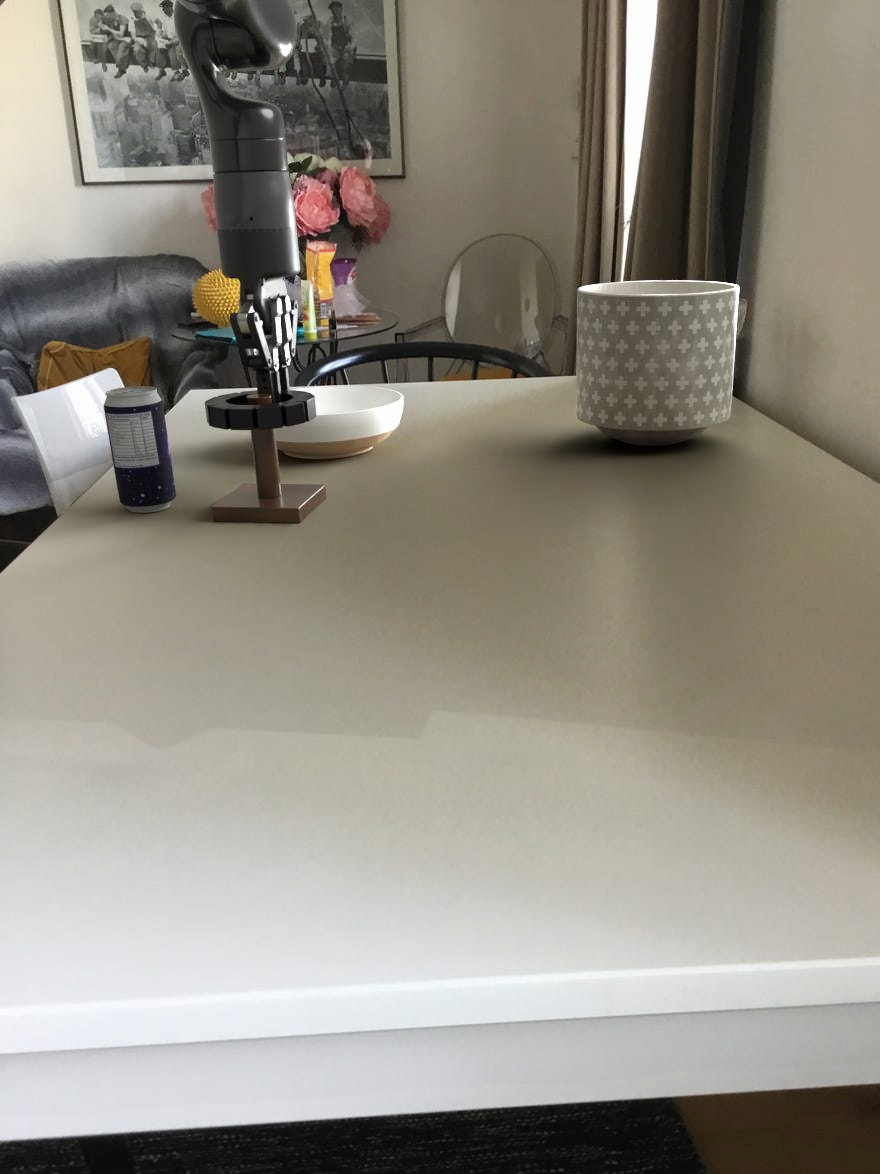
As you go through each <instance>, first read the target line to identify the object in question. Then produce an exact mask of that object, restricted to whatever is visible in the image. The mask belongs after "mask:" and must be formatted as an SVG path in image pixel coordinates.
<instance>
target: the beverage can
mask: <svg viewBox="0 0 880 1174" xmlns="http://www.w3.org/2000/svg"><path fill="white" fill-rule="evenodd" d="M105 396H106V397H105V400H104V403H103V412H104V417H105V424H106V429H107V435H108V440H109V448H110V453H111V458H112V464H113V471H114V477H115V482H116V488H117V495H118V500H119V503H120V504H121V505H122V506H124V507H125V508H127V509H128V511H130V512H132V513H140V514H142V513H143V514H144V513H145V514H146V513H147V514H148V513H154V512H159V511H163V510H166V509H168V508H170V507H171V504H172V502H173V501H174V500H175V499H176V498H177V491H176V484H175V476H174V470H173V469H174V468H173V464H172V457H171V450H170V443H169V442H170V441H169V436H168V429H167V428H168V427H167V423H166V416H165V408H164V402H163V399H162V398H161V397H160V394H158V390H157V388H156V387H155V386H147V385H146V386H145V385H137V386H124V387H117V388H112V389H108V390H107V391H105Z"/></svg>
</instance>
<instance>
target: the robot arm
mask: <svg viewBox="0 0 880 1174" xmlns="http://www.w3.org/2000/svg"><path fill="white" fill-rule="evenodd" d="M5 2H6V0H0V7H1V6H2V5H3V4H4V3H5ZM173 25H174V30H175V35H176V38H177V41H178V44H179V46H180V50H181V52H182V55H183V57H184V60H185V63H186V65H187V67H188V69H189V71H190V75H191V77H192V80H193V82H194V85H195V86H194V87H195V89H196V91H197V95H198V98H199V101H200V104H201V108H202V111H203V115H204V118H205V124H206V129H207V134H208V141H209V142H208V143H209V151H210V161H211V168H212V173H213V174H212V177H213V192H212V193H213V208H214V218H215V226H216V234H217V241H218V250H219V259H220V260H219V261H220V267H221V273H222V275H223V276H224V277H225V278H227V279H233V280H234V279H237V280H238V281H239V297H238V311H239V312H230V314H229V323H230V326H231V329H232V332H233V335H234V338H235V341H236V344H237V347H238V351H239V354H240V357H241V359H242V363H243V365H244V367H245V368H247V369H251V371H252V372H254V373H255V382H256V390H257V391H258V394H271V395H272V404H274V403H279V402H282V399H281V390H291V387H290V377H289V376H290V375H289V368H288V367H290V365H291V360H292V359H291V358H294V357H295V356H296V348H297V347H296V344H297V332H298V317H299V316H298V315H299V303H298V301H297V299H290V296H289V294H288V289H287V286H286V281H285V278H287V277H294V276H296V275H298V274H299V273H300V272H301V259H300V249H299V239H298V227H297V218H296V208H295V198H294V193H293V188H292V183H291V179H290V172H289V159H288V149H287V147H288V146H287V138H286V128H285V127H286V126H285V119H284V116H283V115H284V114H283V113H282V110H281V109H280V108H279V107H278V105H276V104H274V103H272V102H270V101H265V100H260V99H255V98H251V97H250V98H249V97H244V96H241V95H239V94H236V92H234V91H233V89H232V88H231V87H230V85H229V83H228V80H227V78H226V77H227V76H226V73H227V72H256V71H272V70H277V69H279V68H282V67H283V66H284V65H286V64H288V62H289V60H290V59H291V58H292V56H293V55H294V52H295V51H296V50H295V49H296V46H297V42H298V24H297V19H296V15H295V11H294V8H293V6H292V3H291V0H175V3H174V8H173Z"/></svg>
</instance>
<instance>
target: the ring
mask: <svg viewBox="0 0 880 1174" xmlns="http://www.w3.org/2000/svg"><path fill="white" fill-rule="evenodd" d="M252 394H258V391H257V389H255V390H244V391H240V392H236V391H235V392H229V393H226V394H221V395H218V396H213V397H211V398H209V399H207V400H205V401H204V409H205V415H206V422H207V424H208V426H209V427H212V428H215V429H219V430H225V431H226V430H227V431H228V430H230V431H250V430H255V429H257V428H258V430H265V429H275V428H283V426H286V427H289V426H294V425H298V424H302V423H305V422H309V421H310V420H312V419H313V418H315V417H316V407H315V396H314V395H312V394H311V393H310V392H305V391H298V390H293V389H290V390H281V399H282V402H279V403H274V404H263V405H247V396H248V395H252Z"/></svg>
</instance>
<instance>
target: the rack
mask: <svg viewBox="0 0 880 1174" xmlns="http://www.w3.org/2000/svg"><path fill="white" fill-rule="evenodd" d="M263 404H272V395H271V394H252V395H248V396H247V405H263ZM249 431H250V440H251V448H252V456H253V464H254V465H253V466H254V474H255V483H249V482H248V483H245V482H244V483H242V484H241V485H240V486H238V487H237V488H235V489H234V490H233V491H231V492H230V493H228V494H227V495H226V496H224V497H223V498H221V499H220V500H219V501H217V502H216V503H214V504H213V505H212V506H210V509H211V510H210V511H211V517H212V522H235V523H236V522H237V523H282V524H283V523H286V524H287V523H288V524H291V523H292V524H301V523H302V522H303V520H305V519H306V518H307V517H308V516H309V515H310V514H311V513H312V512H313V511H314V510H316V509H317V508H318V506H320V505H321V504H322V503H323V502H324V501H325V500H326V499H327V488H326V484H325V483H322V484H318V483H315V484H313V483H282V481H281V473H280V472H281V471H280V464H279V463H280V462H279V454H278V453H279V452H278V449H277V443H276V434H275V429H265V430H258V428H257V429H255V430H249Z"/></svg>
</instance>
